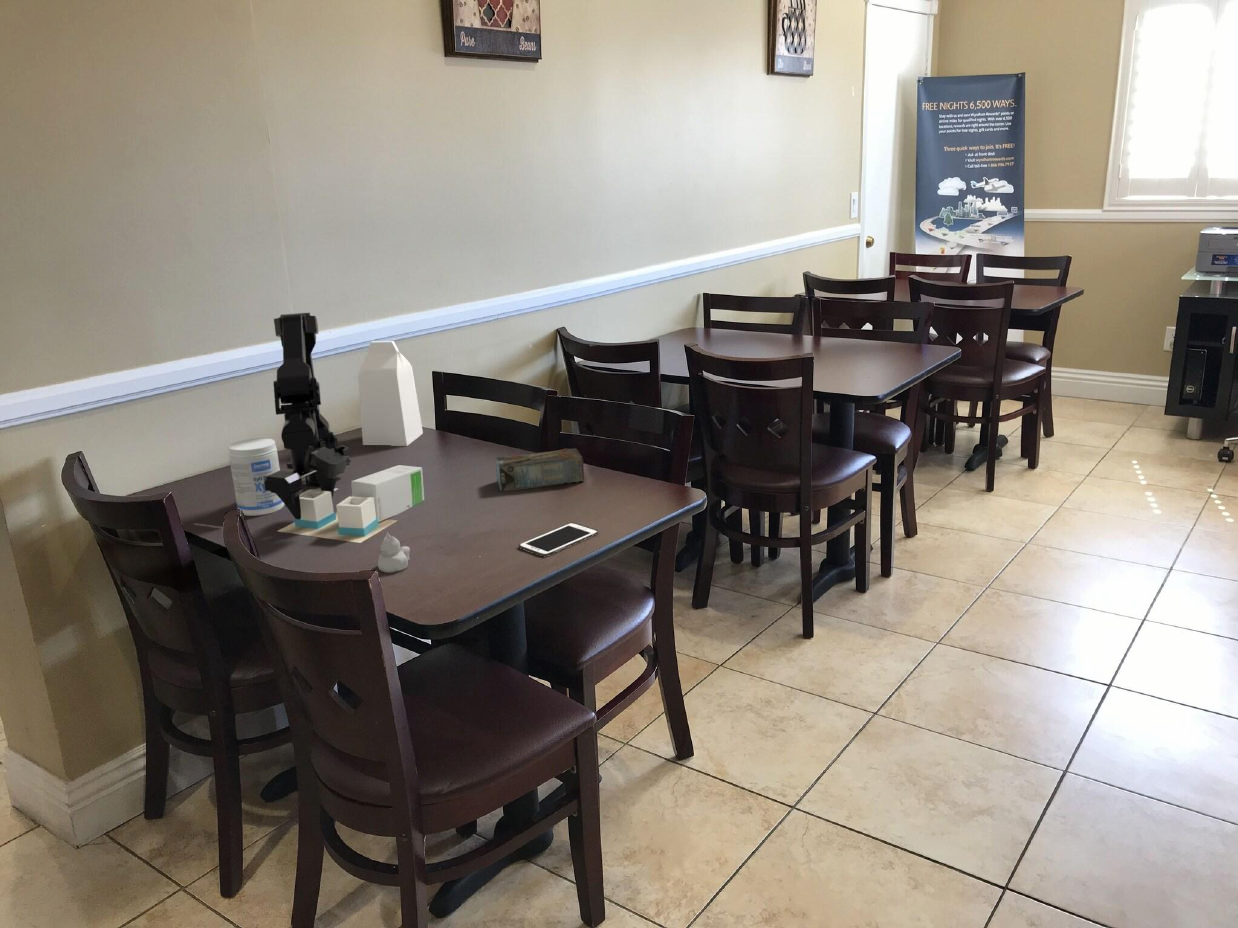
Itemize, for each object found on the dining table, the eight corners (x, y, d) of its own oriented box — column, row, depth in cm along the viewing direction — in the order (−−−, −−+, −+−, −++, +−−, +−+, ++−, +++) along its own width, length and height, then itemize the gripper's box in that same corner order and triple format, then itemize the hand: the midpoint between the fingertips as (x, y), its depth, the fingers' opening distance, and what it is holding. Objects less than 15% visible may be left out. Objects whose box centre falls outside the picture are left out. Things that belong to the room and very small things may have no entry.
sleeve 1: (295, 526, 190) (291, 497, 188) (314, 516, 195) (310, 488, 193) (318, 529, 188) (313, 500, 186) (336, 519, 193) (332, 491, 191)
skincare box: (425, 503, 203) (379, 525, 189) (399, 500, 205) (352, 521, 192) (422, 465, 201) (375, 484, 187) (396, 462, 203) (348, 481, 190)
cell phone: (600, 535, 183) (600, 530, 183) (545, 560, 173) (544, 555, 173) (572, 526, 188) (572, 521, 188) (516, 549, 178) (516, 544, 178)
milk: (363, 445, 247) (350, 346, 239) (380, 433, 258) (369, 337, 249) (407, 446, 245) (395, 345, 237) (423, 433, 256) (412, 337, 247)
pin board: (277, 535, 188) (274, 512, 187) (318, 514, 199) (314, 492, 197) (360, 547, 181) (357, 523, 179) (398, 525, 191) (395, 501, 190)
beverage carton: (496, 481, 215) (493, 453, 213) (579, 472, 220) (577, 445, 218) (500, 493, 208) (497, 464, 206) (586, 483, 212) (584, 455, 210)
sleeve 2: (338, 534, 185) (334, 505, 183) (353, 523, 190) (349, 495, 188) (364, 536, 184) (361, 507, 182) (378, 525, 189) (375, 497, 187)
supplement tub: (266, 519, 198) (255, 451, 193) (228, 516, 200) (216, 449, 196) (295, 503, 206) (284, 438, 202) (258, 500, 209) (247, 436, 205)
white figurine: (371, 574, 169) (366, 532, 167) (400, 561, 174) (395, 520, 171) (391, 581, 166) (386, 538, 163) (420, 568, 171) (415, 526, 168)
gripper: (303, 453, 175) (315, 532, 180) (366, 426, 191) (375, 499, 196) (256, 448, 179) (269, 526, 184) (321, 422, 195) (331, 494, 200)
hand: (313, 511), depth 191 cm, fingers open, 9 cm apart
